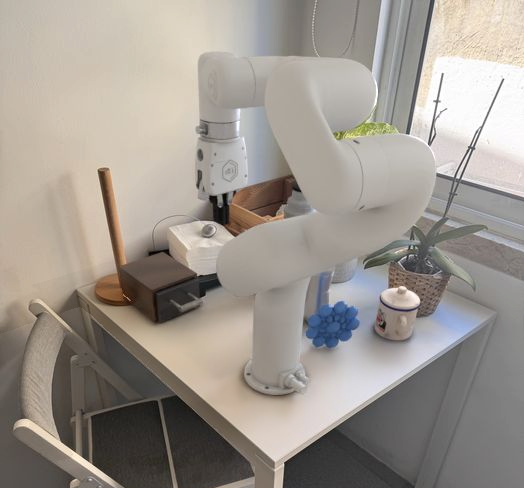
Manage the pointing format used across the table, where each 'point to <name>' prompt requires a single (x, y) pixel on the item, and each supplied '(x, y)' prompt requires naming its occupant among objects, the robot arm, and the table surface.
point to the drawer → (178, 299)
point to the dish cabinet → (151, 281)
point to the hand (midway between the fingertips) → (221, 222)
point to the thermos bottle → (297, 204)
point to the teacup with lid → (396, 313)
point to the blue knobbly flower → (332, 324)
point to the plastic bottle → (318, 292)
